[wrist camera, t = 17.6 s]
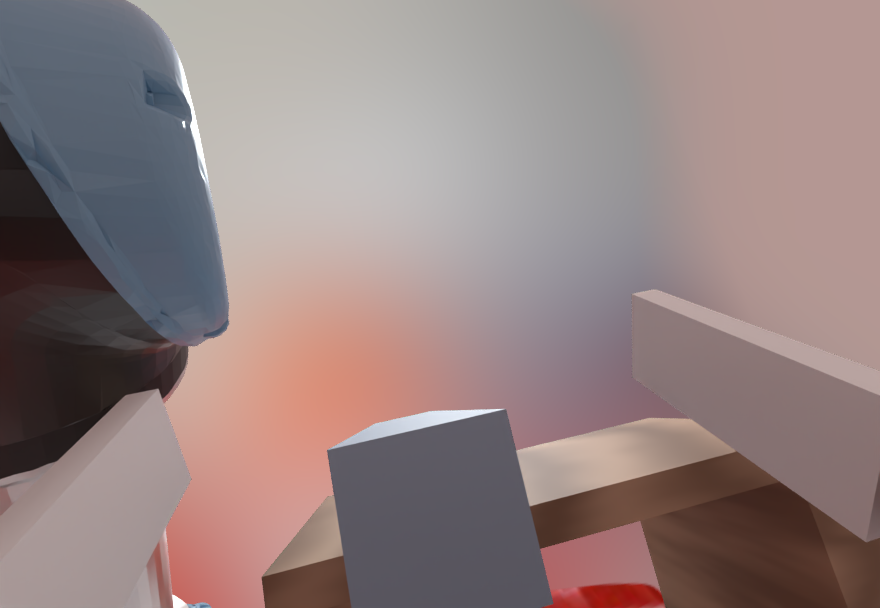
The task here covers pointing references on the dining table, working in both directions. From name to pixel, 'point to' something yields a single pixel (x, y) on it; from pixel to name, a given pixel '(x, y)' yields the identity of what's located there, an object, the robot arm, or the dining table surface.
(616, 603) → the dining table surface
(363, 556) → the gray block
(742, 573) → the shelf
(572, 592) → the dining table surface
